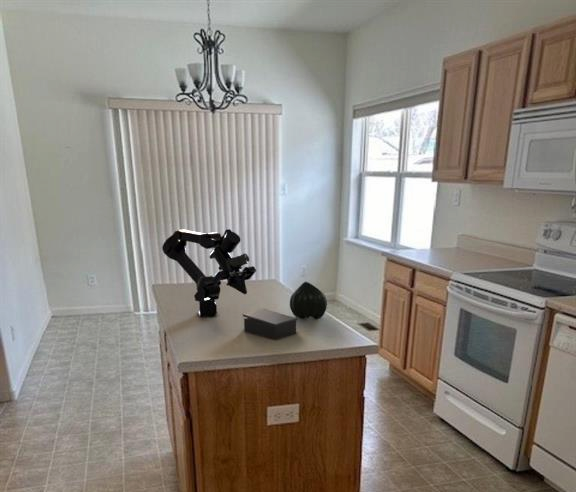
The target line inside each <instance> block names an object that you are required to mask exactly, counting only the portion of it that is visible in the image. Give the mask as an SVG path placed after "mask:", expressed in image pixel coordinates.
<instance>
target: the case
mask: <svg viewBox="0 0 576 492" xmlns="http://www.w3.org/2000/svg"><path fill="white" fill-rule="evenodd" d="M243 330H244V332H247V333H250V334H254V335H257V336H261V337H264V338H268V339H272V340H278V339H281V338H284V337H287V336H288V337H289V336H291V335H294V334H297V319H296V320H295V321H292V322H289V323H285V324H282V325H278V326H272V325H269V324H266V323H263V322H260V321H257V320H253V319H250V318H247V317H244V318H243Z"/></svg>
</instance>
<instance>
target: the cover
mask: <svg viewBox="0 0 576 492" xmlns="http://www.w3.org/2000/svg"><path fill="white" fill-rule="evenodd" d="M242 317H244V318H250V319H253V320H257V321H260V322H263V323H266V324H269V325H272V326H278V325H282V324H285V323H289V322H292V321H295V320H296V321H297V318H298V317H295V316H291V315H288V314H284V313H280V312H276V311H273V310H270V309H267V308H261V309H257V310H252V311H248V312H245V313H242Z"/></svg>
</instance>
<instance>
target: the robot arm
mask: <svg viewBox="0 0 576 492" xmlns="http://www.w3.org/2000/svg"><path fill="white" fill-rule="evenodd" d="M241 241H242V240H241V237H240V235H239V234H237V233H236V232H234V231H232V230H231V229H230V228H229V229H228V228H227V229H225V231H223V234H222V235H221V233H220V232H208V233H207V232H206V233H203V232H197V231H193V230H187V229H177V230H175V231H174V233H173V234H171V235H170V236H169V237H168V238H166V240H165V241H164V242H163V244H162V247H161V248H162V249H161V250H162V252H163V254H164V255H165V256H166V257H167V258H168V259H170V260H173V261H175V262H176V263H178V265H179V266H180V267H181V268H182V269H183V270H184V272H185V273H186V274H187V275H188V276H189V277H190V279H191V280H192V281H193V282H194V283H195V286H196V293H195V294H194V295H193V296H194V300H195V302H198V306H199V307H198V310H199V311H198V315H199V317H200V318H201V317H202V318H203V317H217V313H218V307H217V306H218V305H217V302H216V300H219V299H220V293H221V286H222V281H227V283H225V284H226V286H229V287H231V288H232V289H234V290H236V291H238V292H240V293H241V294H243V295H247V293H248V290H247V285H246V281H248V280H250V279H251V278H252V277H253V276H254V275H255V273H256V272H257V269H256V268H255V266H254V265H250V266H249V265H248V262H250V257H249V256H248V254H247V253H242V254H240V255H237V256H235V257H232V256H231V254H232V253H233V252H235V250H236V249H237V247H238V245H239V244H240V243H241ZM188 243H193V244H198V245H199V246H200V247H201V248H204V249H205V250H209V249H213V250H211V251H210V252H209V259H210V260H211V259H214V260H215V262H216V263H217V264H218V267H217V268H218V270H219V271H216V272H215V275H214V276H213V275H208V276H206V275H205V274H204V272H203V271H202V270H201V269H200V267H198V266H197V264H196V263H195V262H194V261H193V260H192V258H191V257H189V255H188V254H187V249H186V247H187V245H188ZM244 265H248V266H244ZM243 266H244V267H243Z"/></svg>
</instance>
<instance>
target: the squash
mask: <svg viewBox="0 0 576 492" xmlns="http://www.w3.org/2000/svg"><path fill="white" fill-rule="evenodd" d="M327 308H328V300H327V297H326V295H325V293H324V292H323V291H322V290H321V289H319V287H317V286H315V285H314V284H312V283H310V282H309V281H304V282H303V283H301V284H300V285H299V286H298V288H297V289H295V290H294V292H292V294H291V296H290V300H289V309H290V311H291V313H292V314H293V316H294V317H295V318H298V319H299V320H305V319H309V318H312V319H314V320H319V319H321V318H323V317H324V315H325V313H326V311H327Z"/></svg>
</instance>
